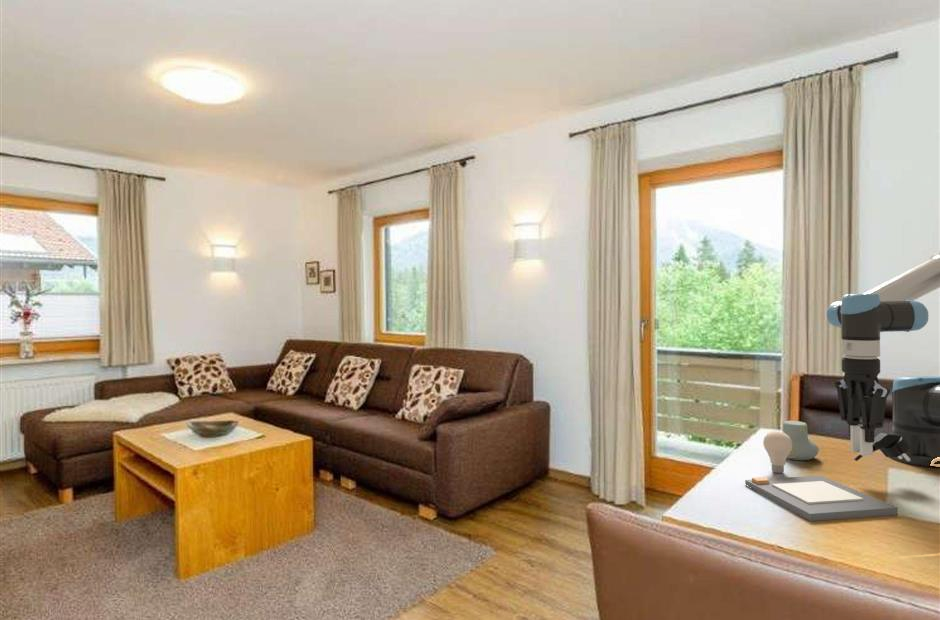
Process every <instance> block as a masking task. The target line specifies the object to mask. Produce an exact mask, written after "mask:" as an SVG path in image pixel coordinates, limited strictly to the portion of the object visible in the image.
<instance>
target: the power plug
mask: <svg viewBox="0 0 940 620" xmlns="http://www.w3.org/2000/svg"><path fill="white" fill-rule="evenodd" d="M909 448H910V445H909V444H908V443H907V442H906V440H905V439H904V438H903V437H902V436H901V435H897V434H891V433H886V432H880V433H878V434H877V435H876V436H874V442H873V453H874V452H876V451H881V452H882V454H883V455H884V456H885V457H886V458H889V459H891V458H894V457H898V458H899V459H902V458H903V457H904V458H905V459H906V460H907V461H910V458H909V457H908V456H907V455H906V454H905V453H906V452H907V450H908V449H909ZM901 455H903V457H902V456H901ZM863 457H864V456H862V455H860V454H859V455H857V456H856V457H855V458H854V459H853V460H854V461H855V462H858V461H859V460H860V459H861V458H863Z"/></svg>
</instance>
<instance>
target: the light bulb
mask: <svg viewBox="0 0 940 620" xmlns="http://www.w3.org/2000/svg"><path fill="white" fill-rule="evenodd" d="M762 445H763V447H764V449H765V451H766V453H767V455H768V457H769V461H770V463H771V471H772V472H773V473H775V474H783V473H784V471H785V465H786V461H787V459H788V458H787V457H788V455H789V454H790V452H791V450H792V441H791V439H790V437H789V436H788V435H787V434H785V433H783V431H780V430H774V431H773V430H772V431H769V432H767V433H766V434H765V436H764V437H763V443H762Z"/></svg>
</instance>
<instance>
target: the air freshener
mask: <svg viewBox="0 0 940 620" xmlns="http://www.w3.org/2000/svg"><path fill="white" fill-rule="evenodd" d="M808 431H809V430H808V424H807V422H804V421H800V420H798V421H797V420H784V421H783V422H782V432H783V433H785V434H787V435H788V436H789V437H790V439H791V441H792V450H791V452H790V454H789V455H788V457H787V458H786V459H787V460H788V459H789V460H794V461H809V460H812V459H814V458H816V457H817V455H818V454H819V450H820V449H819V446H818V444H816V443H815V442H814V441H813V440H812V439H810V438H808V437H809V436H808V435H809V433H808Z"/></svg>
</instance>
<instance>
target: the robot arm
mask: <svg viewBox="0 0 940 620" xmlns="http://www.w3.org/2000/svg"><path fill="white" fill-rule="evenodd" d="M939 288H940V250H938V251H937V252H934V253H933V254H932V255H931V256H930V258H929V260H927V261H924V262H923V263H921V264H919V265H917V266H916V267H913V268H911V269H909V270H907V271H906V272H903V273H901V274H899V275H897V276H896V277H893V278H891V279H890V280H887V281H885V282H883V283H882V284H880V285H877V286H875V287H874V288H871V289H869V290H867V291H866V292H864V293H848V294H844V295H843V296H842V297H841V300H838V301H834V302H832V303H830V305H829V306H828V307H827V309H826V318H827V320H828V323H829V324H831V326H833V327H836V328H840V330H841V332H840V333H841V337H840V338H841V355H842V356H844V357H842V358H841V372H843V373H844V376H843V377H842V379H840V380H835V381H834V383H833V384H834V386H835V388H836V391H837V398H838V406H839V414H840V420H841V421H844V422H846V423H847V425H848V436H849V438H850V452H851V453H855V454H856V453H859V455H862V456H863V457H864V456H865V457H866V456H873V454H874V451H873V442H874V437H875V431H876V429H879V428H880V429H881V428H883V427H884V421H885V414H886V406H887V399H888V396H889V394H890V392H891V394H892V395H891V396H892V397H891V398H892V399H891V400H892V429H891V431H890V434H897V435H901V436H902V437H903V438H904V439H905V440H906V442H907V443H908V444H909V445H910V448H909V449H908V450H907V452H906V453H905V454H906V455H907V456H908V457H909V458H910V461H907V460H906V459H905V458H904V457H903V455H901V456H902V457H903V458H902V459H899V458H898V457H894V458H890V460H893V461H897V462H900V463H905V464H909V465H914V466H919V465H921V467H926V466H930V464H931V461H932V460H933V459H935V458H937V457H940V376H934V375H933V376H922V375H921V376H898V377H896V378H895V379H894V380H893V382H892V389H891V390H890V388H888V387H883V386H882V385H880V380H879V378H878V376H879V374H881V359H880V358H878V357H880V356H881V333H883V332H885V333H887V332H890V333H891V332H906V333H908V332H912V331H919V330H921V329H923V328H924V327H925V326H926V325H927V323H928V322H929V311H928V309H927V307H926V306H925V305H924V304H923V303H922V302H920V301H917V300H918V299H919V298H922V297H923V296H926V295H928V294H929V293H931V292H933V291H936V290H937V289H939ZM934 464H940V461H937V462H935V463H934Z"/></svg>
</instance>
